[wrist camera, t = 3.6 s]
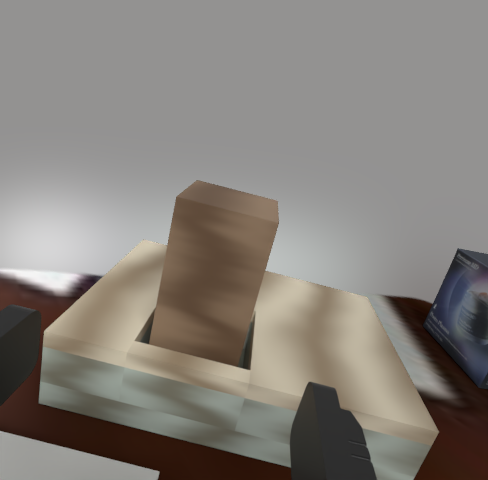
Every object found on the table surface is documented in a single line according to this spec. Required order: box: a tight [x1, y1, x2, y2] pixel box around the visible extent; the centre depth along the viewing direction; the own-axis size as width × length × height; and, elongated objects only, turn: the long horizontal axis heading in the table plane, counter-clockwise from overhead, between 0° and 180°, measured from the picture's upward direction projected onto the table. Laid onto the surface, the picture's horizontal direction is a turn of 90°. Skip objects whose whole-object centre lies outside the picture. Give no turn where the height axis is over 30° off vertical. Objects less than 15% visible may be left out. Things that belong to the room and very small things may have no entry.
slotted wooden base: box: [39, 240, 439, 480], centre depth 28 cm, size 22×16×5 cm
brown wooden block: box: [149, 180, 279, 367], centre depth 23 cm, size 5×5×12 cm
